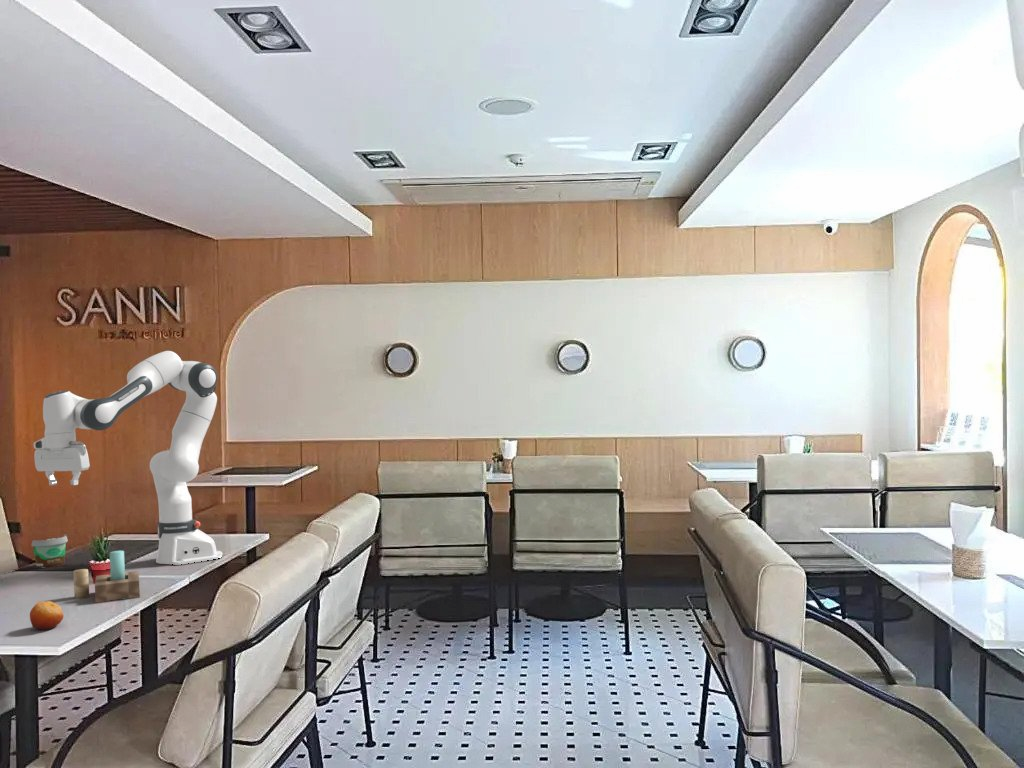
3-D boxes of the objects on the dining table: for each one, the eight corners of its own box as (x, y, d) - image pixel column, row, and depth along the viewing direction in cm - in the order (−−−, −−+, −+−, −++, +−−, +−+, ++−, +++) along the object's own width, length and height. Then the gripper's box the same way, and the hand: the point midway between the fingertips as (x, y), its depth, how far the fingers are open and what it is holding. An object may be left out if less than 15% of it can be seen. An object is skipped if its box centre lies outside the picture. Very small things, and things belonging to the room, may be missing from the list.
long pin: (125, 592, 270) (124, 550, 270) (125, 595, 266) (124, 552, 266) (111, 593, 268) (109, 551, 268) (111, 596, 265) (109, 553, 264)
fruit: (30, 619, 237) (45, 593, 238) (57, 632, 238) (72, 607, 238) (16, 628, 229) (32, 601, 230) (44, 642, 230) (59, 615, 230)
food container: (42, 570, 304) (41, 541, 304) (32, 568, 307) (31, 540, 307) (76, 563, 315) (74, 535, 314) (66, 561, 318) (65, 534, 318)
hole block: (139, 587, 276) (138, 571, 276) (139, 597, 263) (139, 580, 263) (96, 592, 271) (96, 575, 271) (95, 602, 258) (94, 585, 258)
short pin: (89, 594, 269) (88, 568, 268) (89, 597, 265) (87, 571, 265) (74, 596, 267) (73, 569, 267) (74, 599, 263) (73, 572, 263)
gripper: (92, 440, 280) (96, 483, 280) (46, 441, 288) (49, 483, 288) (76, 442, 274) (79, 486, 274) (29, 443, 282) (32, 486, 282)
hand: (63, 484), depth 281 cm, fingers open, 8 cm apart
